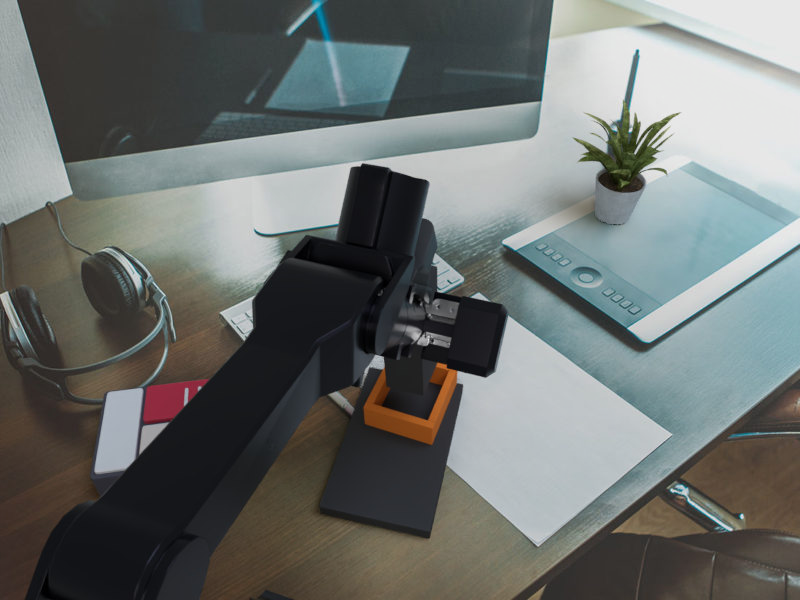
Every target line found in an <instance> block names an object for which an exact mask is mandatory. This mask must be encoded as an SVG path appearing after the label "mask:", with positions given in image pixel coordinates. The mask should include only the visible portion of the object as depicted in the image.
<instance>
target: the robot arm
mask: <svg viewBox="0 0 800 600" xmlns="http://www.w3.org/2000/svg"><path fill="white" fill-rule="evenodd" d="M429 188H430V181H429V180H428V179H424V178H420V177H414V176H411V175H408V174H405V173H402V172H398V171H394V170H392V169H391V168H390V167H388V166H382V165H377V164H371V163H365V162H362V163H361V164H360V165H356V166H351V167H350V168H349V173H348V178H347V183H346V188H345V192H344V195H343V196H344V198H343V201H342V205H341V210H340V215H339V218H338V219H339V220H338V224H337V228H336V229H337V230H336V233H335V238H334V239H330V238H325V237H321V236H317V235H311V234H305V235H304V236H303V237H302V239H300V241H299V242H298V243H297V244H296V245H295V247H293V248H292V250H291V249H287V250H286V252H285V253H284V255H283V257H282V258H281V259H280V261H279V262H278V264H277V266H276V267H275V269H273V271H272V272H271V273H270V274H269V275H268V276H267V278H266V279H265V281H264V282H263V284H262V286H261V287H260V288H259V290H258V291H257V292H256V294H255V296H254V297H253V299H252V301H251V312H252V313H251V314H252V329H251V330H250V332H249V334H248V335H247V336H246V337H245V339H244V341H243V342H242V343H241V344H240V345H239V347H237V349H236V350H235V351H234V352H233V353H232V354H231V355H230V356H229V357H228V359H227V360H225V362H224V363H223V364H222V365H221V366H220V367H219V368H218V369H217V370H216V372H214V373H213V375H211V377H209V378H208V379H209V380H208V381H207V382H206V383H205V384H204V386H203V387H202V388H201V389H200V390H199V391H198V392H197V393H196V394H195V395H194V396H193V397H192V399H191V400H190V401H189V402H188V403H187V404H186V405H185V406H184V407H183V408H182V409H181V410H180V411H179V413H178V414H177V415H176V416H175V417H174V418H173V419H172V420H171V421H170V422H169V423H168V424H167V425H166V427H165V428H164V429H163V430H162V431H161V432H160V433H159V434H158V435H157V436H156V437H155V438H154V440H153V441H152V442H151V443H150V444H149V445H148V446H147V447H146V448H145V449H144V450H143V451H142V452H141V454H140V455H139V456H138V457H137V458H136V459H135V460H134V461H133V462H132V463H131V464H130V465H129V466H128V468H127V469H126V470H125V471H124V472H123V473H122V474H121V475H120V476H119V477H118V478H117V479H116V481H115V482H114V483H113V484H112V485H111V486H110V487H109V488H108V489H107V490H106V491H105V492H104V493H103V495H102V496H99V498H98V499H96V500H92V499H89V500H86V501H83V502H81V503H77V504H76V505H75V506H73V507H72V508H71V509H70V510H69V511H68V512H66V513H65V514H64V515H63V516H62V517H61V518H60V520H59V521H58V522H57V523H56V525H55V526H54V528H52V529H51V531H50V533H49V535H48V537H47V539H46V541H45V544H44V546H43V547H42V549H41V551H40V555H39V557H38V561H37V563H36V567H35V569H34V572H33V574H32V577H31V579H30V583H29V586H28V588H27V591H26V593H25V597H24V600H200V599H201V596H202V593H203V590H204V587H205V582H206V580H207V577H208V575H207V574H208V571H209V567H210V562H211V558H212V556H213V554H214V553H215V551H216V550H217V548H218V547H219V546H220V544H221V543H222V541H223V540H224V538H225V536H226V535H227V534H228V533H229V530H230V529H231V528H232V526H233V525H234V523H235V521H236V520H237V518H238V517H239V515H240V514H242V513H241V512H242V511H243V510H244V508H245V506H247V504H248V502H249V501H250V499H251V498H252V496H253V495H254V493H255V492H256V491H257V489H258V487H259V486H260V485H261V483H262V482H263V480H264V478H265V477H266V475H267V474H268V473H269V471H270V470H271V468H272V466H273V465H274V463H275V462H276V461H277V459H278V458H279V456H280V455H281V453H282V452H283V451H284V449H285V448H286V446H287V444H288V443H289V441H290V440H291V438H292V437H293V435H294V434H295V432H296V431H297V430H298V428H299V426H300V425H301V423H302V422H303V420H304V419H305V418H306V416H307V415H308V413H309V412H310V410H311V409H312V407H313V406H314V405H315V404H316V403H317V402H318V401H319V399H320V398H323V397H326V396H328V395H330V394H333V393H337V392H339V391H342V390H345V389H347V388H350V387H354V388H357V389H358V388H361V387H362V385H363V381H364V377H365V372H366V370H367V368H369V366H370V364H371V363H372V362H373V360H374V359H375V357H376V356H378V357H381V358H384V357H386V358H390V359H394V360H399V359H400V356H403V357H407V358H410V357H411V356H412V351H413V346H414V344H417V345H421V346H423V348H422V353H421V357H420V358H421V359H425V360H429V361H433V362H437V363H441V364H445V365H447V367H446V368H447V369H451V370H455V371H458V372H460V373H465V374H468V375H472V376H477V377H481V378H483V379H484V378H485V379H486V378H488V377H490V376H491V375H493V374H494V373H496V372H497V369H498V365H499V360H500V355H501V351H502V346H503V341H504V337H505V332H506V328H507V323H508V319H509V314H510V312H509V311H508V309H507V308H506V306H505V305H504V304H503V303H499V302H494V301H489V300H485V299H480V298H475V297H471V296H470V297H469V296H466V295H461V296H459V295H455V294H454V295H453V294H450V293H445V292H439V291H437V292H436V291H435V294H434V298H433V302H432V303H431V304H430V305H428V304H424V303H429V300H430V296H431V291H432V288H430V287H428V283H429V279H430V273H429V272H430V269H431V266H433V262H434V258H435V256H436V253H437V250H438V241H437V236H436V235H437V234H436V231H435V226H434V223H433V222H432V221H431V220H430V219H427V218H424V217H423V216H424V212H425V208H426V204H427V198H428V194H429ZM423 302H424V303H423ZM426 314H427V315H428V318H427V319H425V315H426ZM422 331H425V332H424V334H423V335H422V337H421V333H422ZM248 600H295V599H294V598H291V597H288V596H286V595H284V594H283V595H282V594H280V593H277V592H274V591H271V590H268V589H265V590H264V591H263V592H262V593H260V595H259V596H257V597H252V596H251V597H250V596H249V599H248Z"/></svg>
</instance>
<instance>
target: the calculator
mask: <svg viewBox="0 0 800 600" xmlns="http://www.w3.org/2000/svg"><path fill="white" fill-rule="evenodd" d="M209 379H210V378H205V379H197V380H187V381H180V382H170V383H163V384H153V385H147V386H139V387H130V388H122V389H114V390H108V391H106V392H104V394H103V398H102V403H101V404H102V405H101V409H100V416H99V421H98V422H99V423H98V428H97V433H96V440H95V444H94V450H93V456H92V462H91V468H90V475H89V478H90V481H91V482H92V484H93V486H94V489H96V492H97V493H98V495H99V497H101V496H102V495H103V493H104V492H105V491H106V490H107V489H108V488H109V487H110V486H111V485H112V484H113V483H114V482H115V481H116V479H117V478H118V477H119V476H120V475H121V474H122V473H123V472H124V471H125V470H126V469H127V468H128V466H129V465H130V464H131V463H132V462H133V461H134V460H135V459H136V458H137V457H138V456H139V455H140V454H141V452H142V451H143V450H144V449H145V448H146V447H147V446H148V445H149V444H150V443H151V442H152V441H153V440H154V438H155V437H156V436H157V435H158V434H159V433H160V432H161V431H162V430H163V429H164V428H165V427H166V425H167V424H168V423H169V422H170V421H171V420H172V419H173V418H174V417H175V416H176V415H177V414H178V413H179V411H180V410H181V409H182V408H183V407H184V406H185V405H186V404H187V403H188V402H189V401H190V400H191V399H192V397H193V396H194V395H195V394H196V393H197V392H198V391H199V390H200V389H201V388H202V387H203V386H204V384H205V383H206V382H207V381H208V380H209Z"/></svg>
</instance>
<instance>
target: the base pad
mask: <svg viewBox="0 0 800 600" xmlns="http://www.w3.org/2000/svg"><path fill="white" fill-rule="evenodd" d="M446 367H447V365H445V364H441V363H437V365H436V367H435V370H434V372H433V375H432V377H431V379H430V382H429V384H428V387H427V389H426V391H425V394H424V396H421V395H417V394H413V393H409V392H405V391H401V390H397V389H393V388H389V387H387V386H386V375H385V366H383V368H382V369H381V368H377V367H368V370H367V373H366V376H365V379H364V380H363V381H364V382H363V383H362V385H361V389H360V392H359V394H358V398H357V400H356V403H355V406H354V407H353V410H352V414H351V417H350V420H349V422H348V424H347V428H346V431H345V433H344V436H343V439H342V442H341V444H340V447H339V450H338V452H337V456H336V458H335V460H334V464H333V466H332V469H331V472H330V473H329V474H330V475H329V478H328V480H327V483H326V485H325V488H324V491H323V494H322V496H321V499H320V502H319V505H318V509H319V513H320V515H323V516H329V517H333V518H337V519H342V520H346V521H350V522H354V523H359V524H363V525H367V526H372V527H377V528H381V529H386V530H390V531H394V532H398V533H403V534H407V535H411V536H416V537H421V538H425V539H430V538H431V535H432V531H433V526H434V522H435V516H436V514H437V507H438V503H439V499H440V495H441V491H442V485H443V482H444V477H445V472H446V468H447V463H448V458H449V455H450V450H451V445H452V441H453V436H454V432H455V427H456V423H457V420H458V415H459V411H460V405H461V402H462V401H461V400H462V396H463V391H464V384H463V383H458V372H459V371H455V370H451V369H447V368H446Z"/></svg>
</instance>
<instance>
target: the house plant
mask: <svg viewBox="0 0 800 600" xmlns="http://www.w3.org/2000/svg"><path fill="white" fill-rule="evenodd" d="M622 107H623V108H622V109H623V111H622V112H623V117H622V118H623V119H622V127H620V126H619V125H618V124H617V123H616V122H615V121H613V120H612V119H610V121H611V122H612V123H613V124H614V125H615V126H616V128H617V132H616V134H615V131H614V130H613V129H612V128H611V126H610V124H609V123H607V122H606V121H605V120H604V119H602V118H600V117H598V116H595V115H594V114H590V113H588V112H584V111H582V113H583V114H585V115H587V116H589V117H591V118H592V119H594V120H591V121H592V122H594V123H596V124H598V125H600V126H601V128H602V129H603V130H604V132H605V133H606V136H607V138H608V140H605V139H604V138H603V137H602V136H600V135H599V134H597V133H595V132H589V135H593V136H596V137H598V138H600V139H601V140H602V141H603V142H605V144H607V146H608V147H609V148H610V150H611V152H612V154H613V156H614V158H615V160H614V159H613V157H611V156H610V155H609V154H608V153H607V152H605V151H604V150H602V149H600V148H599V147H596V146H595V145H593V144H592V143H590V142H588V141H586V140H584V139H580V138H576V137H572V139H573V140H574V141H575V142H576V143H578V144H580V145H582V146H583V147H584V148H585V149H586V152H583V153H581V154H580V156H583V157H581V158H580V159H579V160H578V161H577V163H579V162H580V163H581V162H582V163H583V162H585V163H586V162H597V163H600V164H601V165H602V166H603V168H601V169H600V170H599V171H598V172H597V173H596V175H595V185H594V186H595V189H594V216H595V217H596V219H597V218H598V221H600V220H601V221H600V222H602V221H603V222H606V223H607V224H606V223H605V224H606V225H610V224H612V225H611V226H614V225H613V224H617V225H616V226H619V225H618V224H621V225H624V224H626V223H627V222H628V221H629V220H630V217H631V216H632V214H633V213H634V210H635V208H636V206H637V205H638V202H639V200H640V199H641V197H642V195H643V193H644V191H645V189H646V187H647V184H648V183H647V179H646V178H645V176H644V174H642V173H645V172H646V171H657V172H661V173H664V174H665V175H666V177H667V178H668V172H667V170H666V169H665V168H662V167H651V168H647V169H645V168H646V167H648V166H650V165H651V164H653V163H655V162H656V161H657V160H658V158H657V157H655V155H656V154H658V153H661V152H665V150H659V149H658V148H660V147H661V146H662V145H664V143H665V142H666V141H668V140H669V139H670V138H671V137H672V136H673V135H674V133H672V134H671V135H669V136H667V137H666V138H664V139H663V140H662V141H661V142H659V143H658V144H657V145H656V146H655V147H652V146H654V144H656V143H657V142H658V141H659V140H660V139H661V138H662V137H663V136H664V135H665V133H667V131H668V130H669V129H670V128H671V127H672V125H669V126H668V127H667V128H666V129H664V130H663V131H662V132H660V131H661V130H662V129H663V128H664V127H666V125H667V124H669V122H671V120H673V118H675V117H677V116H679V115H680V114H682V112H680V111H679V112H676V113H672V114H669V115H667V116H666V117H663V118H662V119H661V120H659V121H655V122H653V123H651V124H650V125H648V127H646V128H645V130H644V131H643V132H642V133H641V135H640V131H641V127H642V123H641V121H639V120H638V115H637V113H636V112H634V115H633V116H634V117H633V125H632V128H631V129H632V130H631V135H630V138H629V134H630V121H631V113H630V109H629V108H628V105H627V103H626V101H625V100H624V99H622ZM658 133H659V134H658ZM657 134H658V136H657ZM639 135H640V137H639ZM638 138H639V139H638ZM643 139H644V140H643ZM653 139H654V140H653ZM642 140H643V141H642ZM641 142H642V143H641ZM639 145H640V146H639ZM637 149H638V150H637ZM635 152H636V153H635ZM643 169H644V170H643ZM603 222H602V223H603ZM623 223H624V224H623Z"/></svg>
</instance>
